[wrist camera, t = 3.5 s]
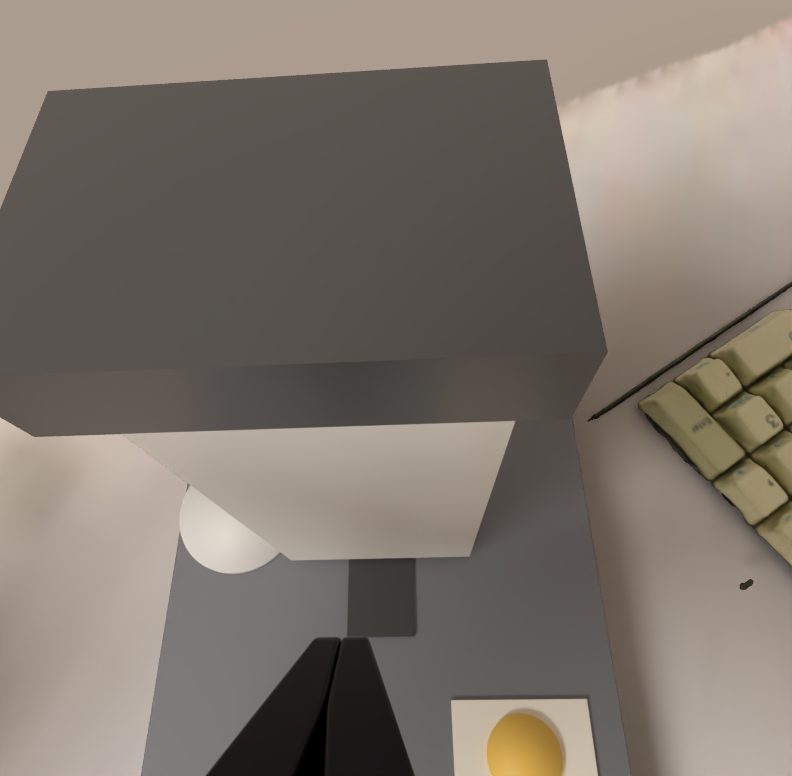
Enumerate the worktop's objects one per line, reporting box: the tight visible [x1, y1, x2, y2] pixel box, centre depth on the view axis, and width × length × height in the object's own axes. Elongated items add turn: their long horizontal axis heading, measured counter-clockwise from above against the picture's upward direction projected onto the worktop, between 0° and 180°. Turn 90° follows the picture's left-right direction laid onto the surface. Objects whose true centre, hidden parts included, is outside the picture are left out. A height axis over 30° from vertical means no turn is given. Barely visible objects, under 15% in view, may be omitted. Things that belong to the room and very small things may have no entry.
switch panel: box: [141, 417, 631, 776], centre depth 16 cm, size 20×12×2 cm, turn 1°
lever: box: [0, 60, 607, 560], centre depth 11 cm, size 4×6×12 cm, turn 91°
